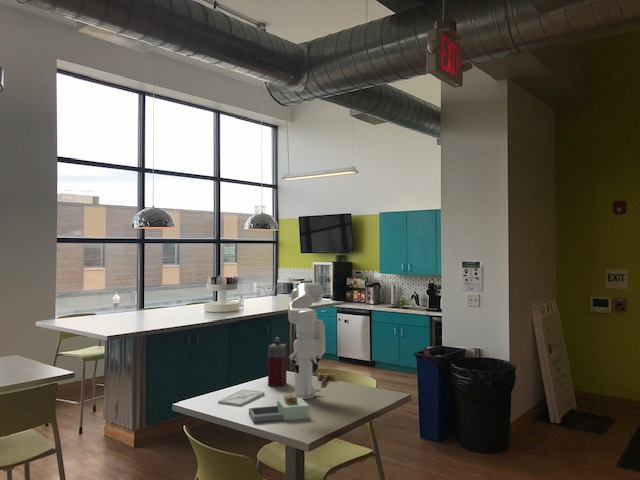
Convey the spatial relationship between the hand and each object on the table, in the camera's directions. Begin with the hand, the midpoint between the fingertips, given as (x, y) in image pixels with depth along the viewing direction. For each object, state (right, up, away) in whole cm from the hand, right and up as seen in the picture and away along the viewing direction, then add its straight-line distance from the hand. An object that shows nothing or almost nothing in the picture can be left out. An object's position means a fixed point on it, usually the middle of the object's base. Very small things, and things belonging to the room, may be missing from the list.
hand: (305, 372), depth 251 cm
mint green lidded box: (-6, -20, -3) cm, 21 cm away
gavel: (+10, -23, +61) cm, 65 cm away
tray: (-19, -20, -6) cm, 28 cm away
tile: (-7, -14, -3) cm, 16 cm away
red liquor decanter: (-20, -22, +57) cm, 64 cm away
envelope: (-35, -22, +25) cm, 48 cm away
